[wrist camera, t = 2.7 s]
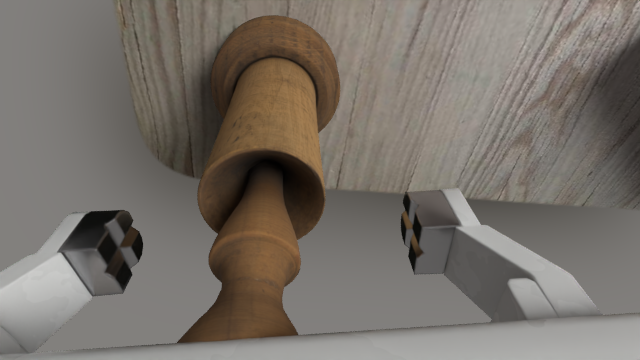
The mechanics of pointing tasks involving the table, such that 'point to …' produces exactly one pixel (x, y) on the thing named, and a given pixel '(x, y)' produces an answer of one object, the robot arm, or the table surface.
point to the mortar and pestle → (264, 171)
